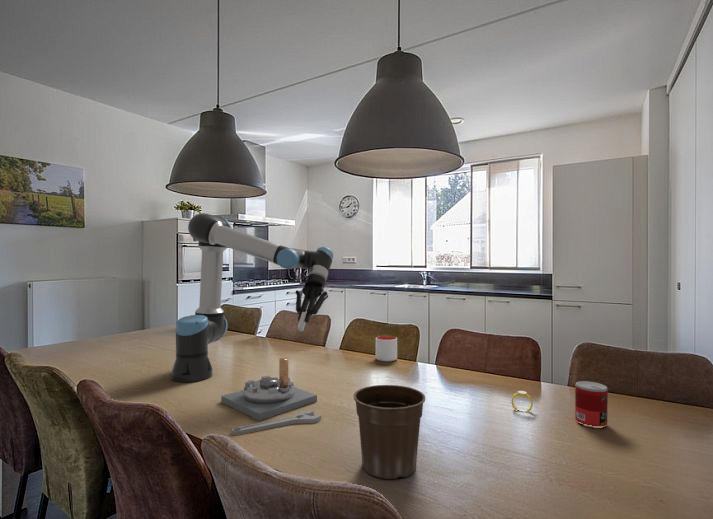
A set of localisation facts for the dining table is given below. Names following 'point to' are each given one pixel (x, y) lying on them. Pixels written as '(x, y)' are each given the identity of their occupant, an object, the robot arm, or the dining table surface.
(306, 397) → the base plate
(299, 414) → the adjustable wrench
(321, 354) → the dining table surface
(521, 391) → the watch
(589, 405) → the canned food
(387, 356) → the cup
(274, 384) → the metal rotary base
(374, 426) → the plant pot
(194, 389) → the dining table surface
